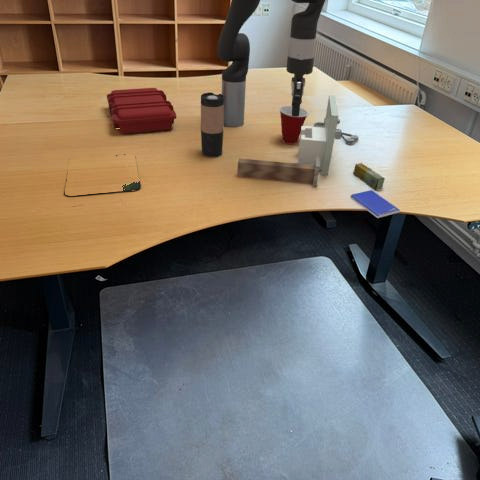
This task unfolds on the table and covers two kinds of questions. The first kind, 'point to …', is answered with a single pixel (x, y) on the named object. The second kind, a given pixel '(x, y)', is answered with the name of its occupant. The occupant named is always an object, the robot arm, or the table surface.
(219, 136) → the travel mug
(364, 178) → the medication box
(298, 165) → the post on square base
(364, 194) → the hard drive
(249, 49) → the robot arm
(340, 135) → the pulley system
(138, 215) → the table surface
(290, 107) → the plastic cup
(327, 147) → the grey upright panel
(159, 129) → the first aid kit
